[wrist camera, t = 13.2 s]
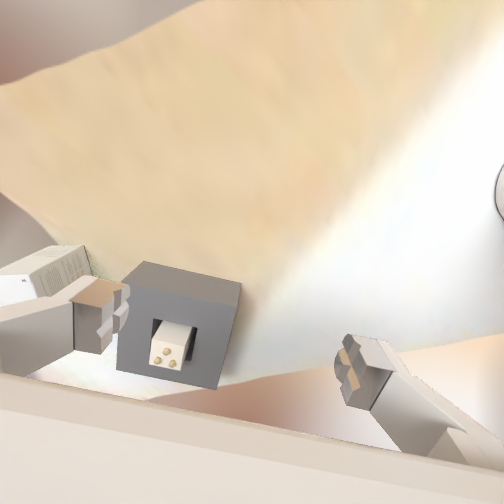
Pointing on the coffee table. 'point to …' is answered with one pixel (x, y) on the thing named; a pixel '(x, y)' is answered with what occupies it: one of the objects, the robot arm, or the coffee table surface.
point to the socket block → (178, 321)
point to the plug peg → (170, 345)
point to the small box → (42, 273)
